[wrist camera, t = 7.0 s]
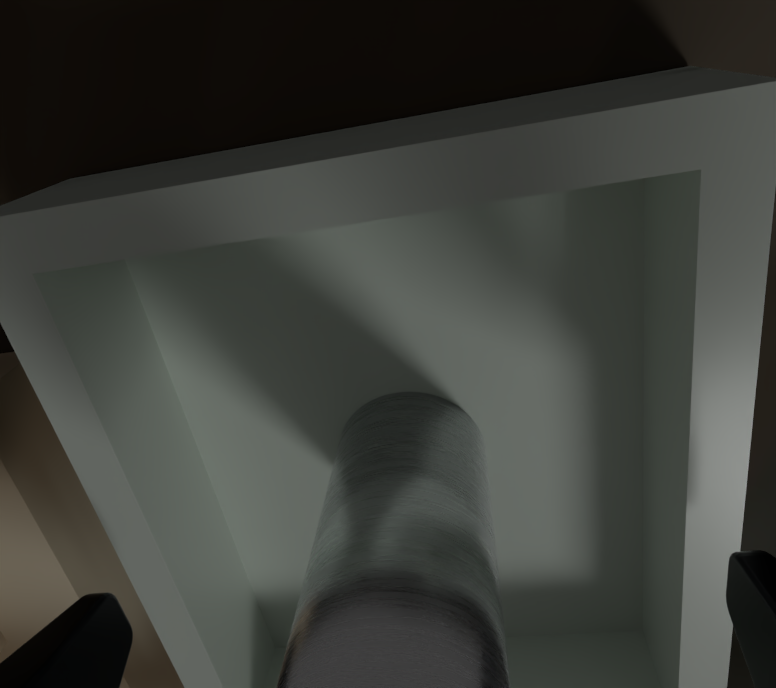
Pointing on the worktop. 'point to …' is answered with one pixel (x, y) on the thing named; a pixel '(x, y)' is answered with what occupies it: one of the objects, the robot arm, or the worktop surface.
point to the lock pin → (402, 558)
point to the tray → (424, 359)
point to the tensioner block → (57, 538)
